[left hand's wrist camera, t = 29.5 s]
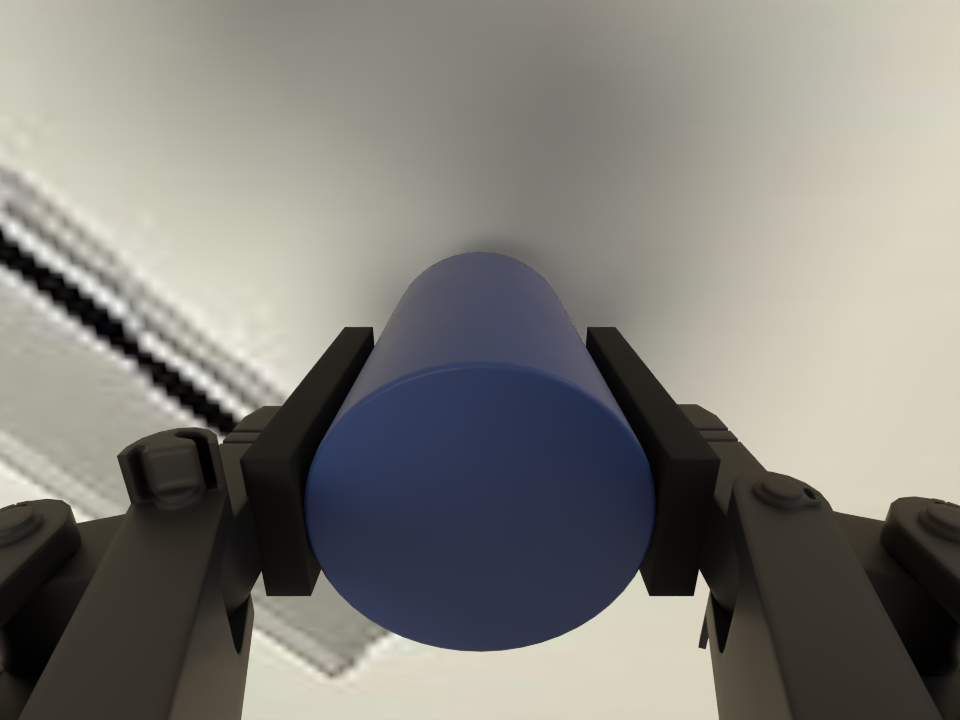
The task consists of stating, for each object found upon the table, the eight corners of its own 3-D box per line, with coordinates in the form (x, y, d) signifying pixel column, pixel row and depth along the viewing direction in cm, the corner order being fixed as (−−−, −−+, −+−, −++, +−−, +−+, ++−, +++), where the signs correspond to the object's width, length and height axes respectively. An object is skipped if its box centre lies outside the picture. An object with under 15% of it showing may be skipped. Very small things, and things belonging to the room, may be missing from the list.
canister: (357, 340, 17) (230, 528, 8) (478, 212, 16) (477, 280, 7) (481, 446, 19) (482, 698, 10) (602, 338, 17) (730, 524, 8)
